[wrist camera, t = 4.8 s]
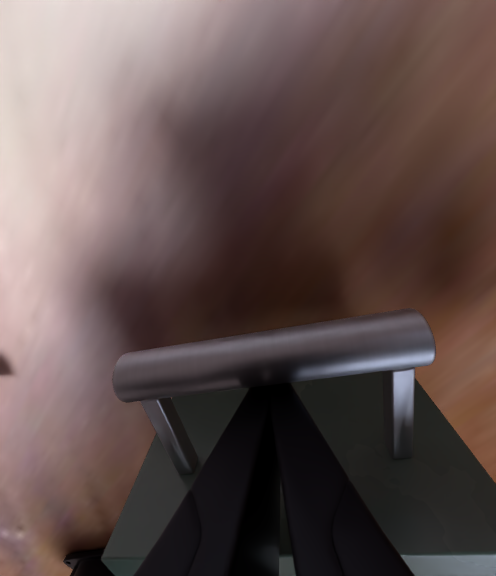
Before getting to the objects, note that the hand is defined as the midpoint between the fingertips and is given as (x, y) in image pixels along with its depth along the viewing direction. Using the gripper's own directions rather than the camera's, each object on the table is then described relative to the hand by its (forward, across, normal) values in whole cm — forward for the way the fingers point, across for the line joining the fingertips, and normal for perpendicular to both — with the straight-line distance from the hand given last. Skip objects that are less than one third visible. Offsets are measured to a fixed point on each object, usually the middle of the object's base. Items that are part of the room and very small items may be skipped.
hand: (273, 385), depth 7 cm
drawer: (+4, 0, +7) cm, 8 cm away
